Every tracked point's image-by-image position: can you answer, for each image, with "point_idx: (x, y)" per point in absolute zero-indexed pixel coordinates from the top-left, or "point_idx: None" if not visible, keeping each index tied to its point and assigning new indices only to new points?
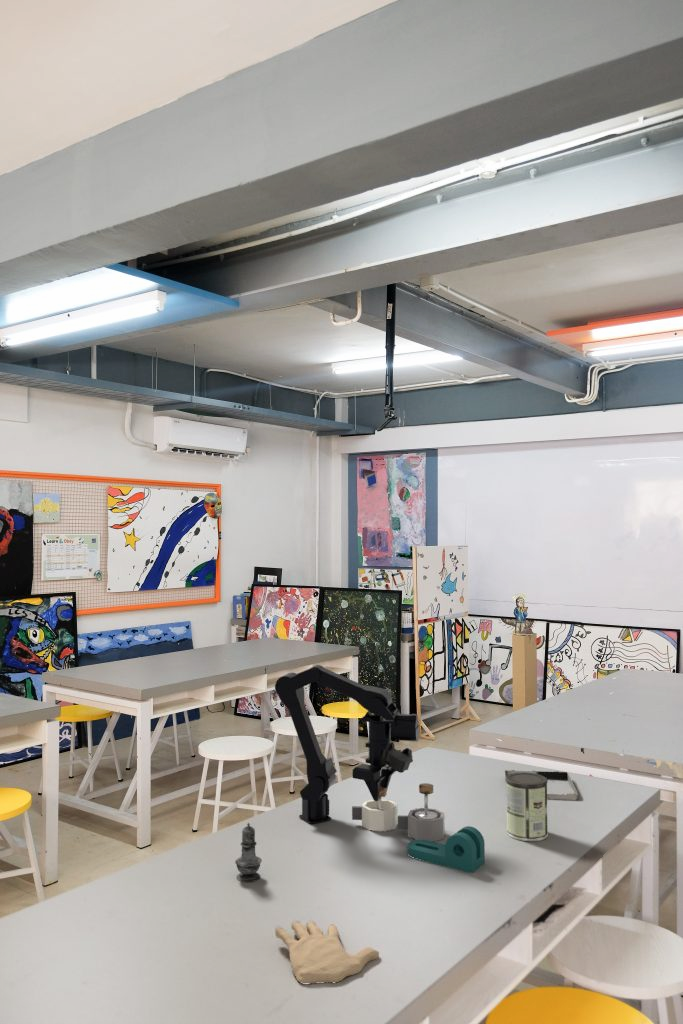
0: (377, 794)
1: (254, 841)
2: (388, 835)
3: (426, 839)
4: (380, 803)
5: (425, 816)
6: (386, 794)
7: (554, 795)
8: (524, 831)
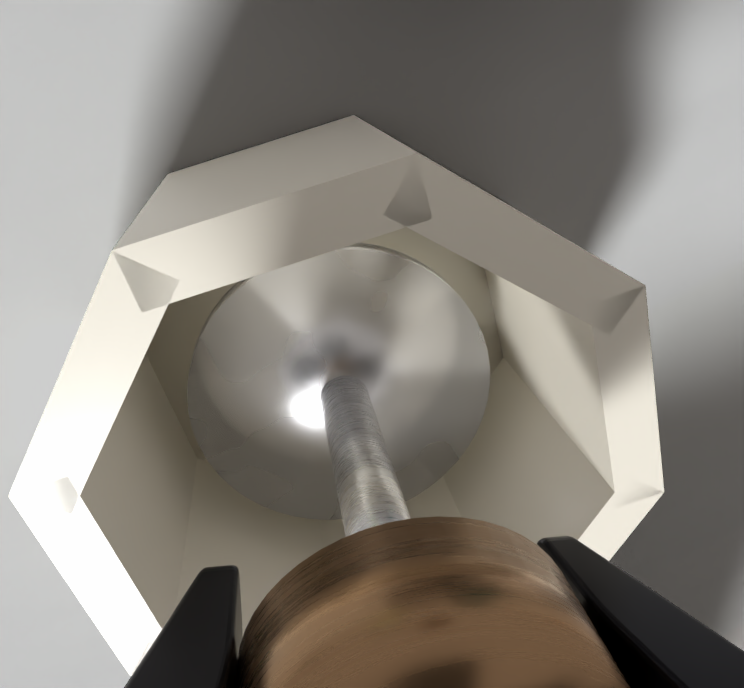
0: (714, 636)
1: None
2: (597, 90)
3: None
4: (393, 494)
5: None
6: (368, 536)
7: None
8: None
